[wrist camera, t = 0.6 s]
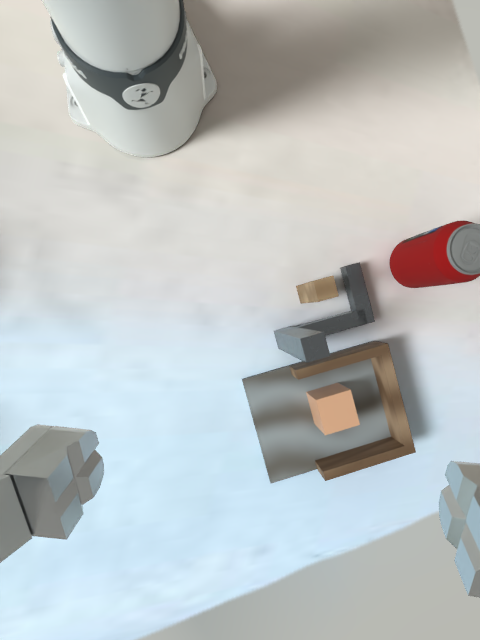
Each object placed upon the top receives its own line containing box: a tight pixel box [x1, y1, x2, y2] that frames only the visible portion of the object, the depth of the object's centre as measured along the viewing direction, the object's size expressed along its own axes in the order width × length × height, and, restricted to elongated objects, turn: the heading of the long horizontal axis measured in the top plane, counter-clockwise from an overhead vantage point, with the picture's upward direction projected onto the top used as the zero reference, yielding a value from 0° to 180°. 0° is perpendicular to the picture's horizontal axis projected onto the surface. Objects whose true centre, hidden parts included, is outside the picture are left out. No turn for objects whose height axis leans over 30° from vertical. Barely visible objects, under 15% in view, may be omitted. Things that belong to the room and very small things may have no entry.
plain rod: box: [296, 276, 339, 303], centre depth 45 cm, size 2×2×8 cm
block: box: [306, 383, 360, 435], centre depth 47 cm, size 4×4×4 cm
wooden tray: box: [242, 341, 416, 483], centre depth 47 cm, size 14×19×4 cm
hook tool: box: [274, 262, 375, 363], centre depth 42 cm, size 8×13×14 cm, turn 105°
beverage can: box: [390, 221, 480, 288], centre depth 44 cm, size 7×7×12 cm
